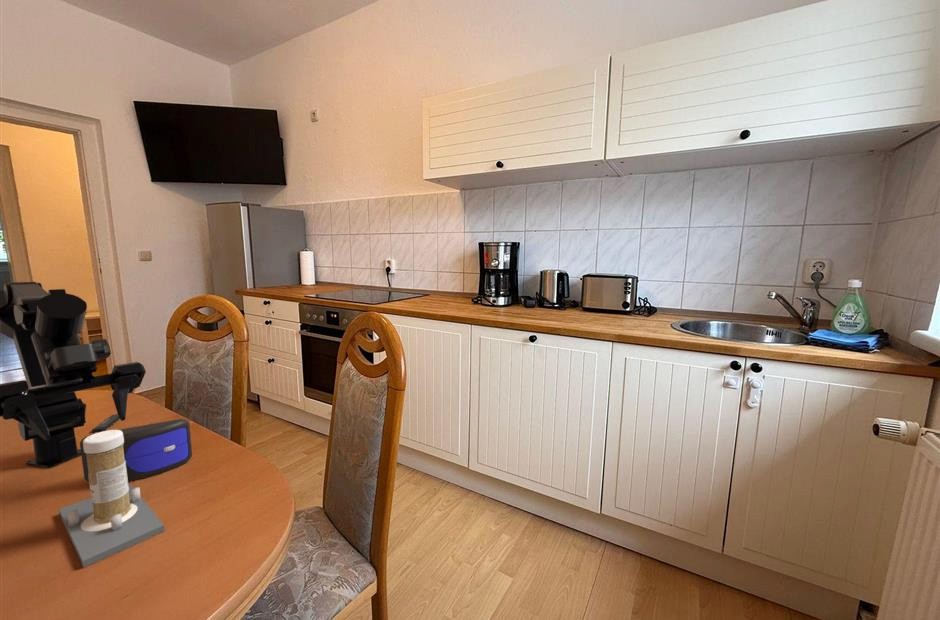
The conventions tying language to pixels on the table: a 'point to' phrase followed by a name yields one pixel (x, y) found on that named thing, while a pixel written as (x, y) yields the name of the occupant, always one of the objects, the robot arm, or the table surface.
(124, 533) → the pin board
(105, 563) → the table surface
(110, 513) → the sprinkles bottle
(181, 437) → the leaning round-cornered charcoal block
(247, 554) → the table surface
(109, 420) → the usb stick
